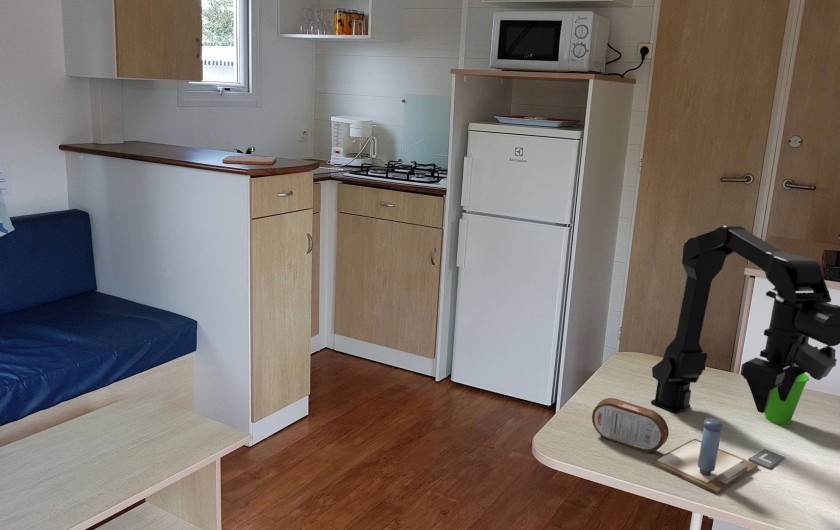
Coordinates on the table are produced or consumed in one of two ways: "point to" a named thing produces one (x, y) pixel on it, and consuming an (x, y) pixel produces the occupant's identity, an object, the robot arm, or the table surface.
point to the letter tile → (766, 458)
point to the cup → (785, 403)
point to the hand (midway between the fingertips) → (771, 406)
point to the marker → (709, 446)
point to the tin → (630, 424)
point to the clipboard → (686, 467)
